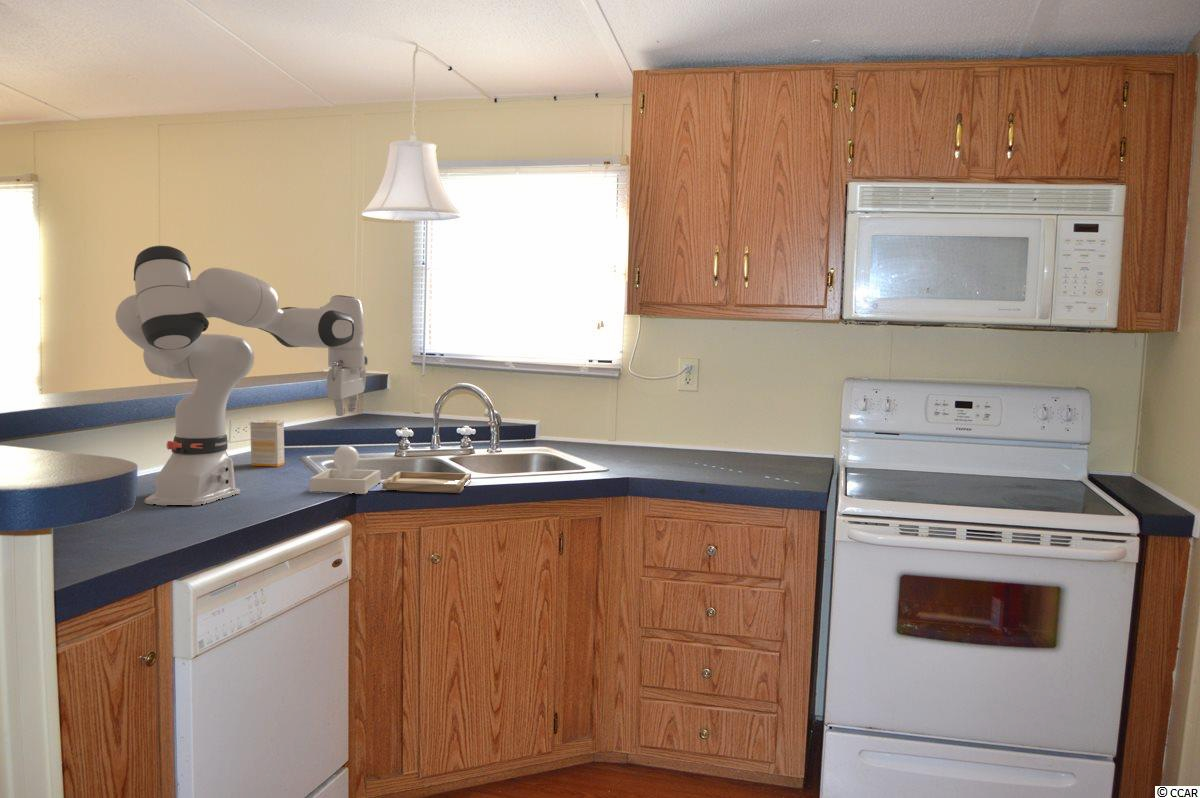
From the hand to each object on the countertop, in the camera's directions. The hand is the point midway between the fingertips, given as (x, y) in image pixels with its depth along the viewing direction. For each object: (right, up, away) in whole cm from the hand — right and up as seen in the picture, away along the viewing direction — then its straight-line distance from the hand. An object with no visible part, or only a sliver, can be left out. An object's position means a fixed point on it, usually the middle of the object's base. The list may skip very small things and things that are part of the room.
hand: (346, 413), depth 222 cm
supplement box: (-32, -16, +30) cm, 47 cm away
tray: (+20, -19, +7) cm, 28 cm away
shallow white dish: (-1, -19, +2) cm, 19 cm away
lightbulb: (-1, -19, +2) cm, 20 cm away
